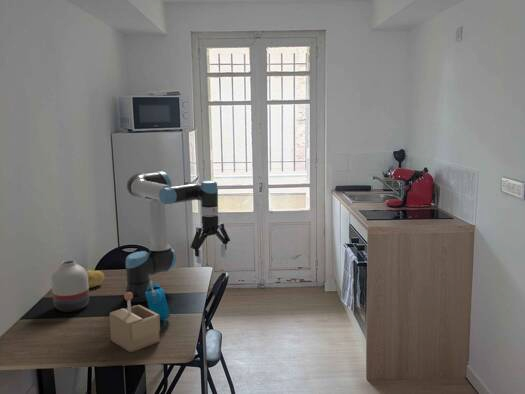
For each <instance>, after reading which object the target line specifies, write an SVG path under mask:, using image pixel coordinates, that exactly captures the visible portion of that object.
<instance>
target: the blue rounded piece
mask: <svg viewBox="0 0 525 394" xmlns="http://www.w3.org/2000/svg"><path fill="white" fill-rule="evenodd" d="M146 298H147V301H146V302H147V306H148V309H149V310H151V311H153V312H155V313H157V314H159V317H160V321H162V320H163V326H164V327H166V324H167V323H166V319H168V318H170V316H171V315H170V311H169V307H168V301H167V298H166V293H165V290H164V288H161V286H160V285H159V284H158V283H157V282H154V281H152V280H150V284H149V285H148V286H147V292H146Z"/></svg>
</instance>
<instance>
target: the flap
mask: <svg viewBox="0 0 525 394" xmlns="http://www.w3.org/2000/svg"><path fill="white" fill-rule="evenodd" d="M124 294H125V295H123V297H124V300H125V301H126V300H127V301H126V302H127V303H126V304H127V308H128V310H126V308H125V307H124V308H120V309H119V308H118V309H116V310H113V311H110V312H109V314H111V315H113V316H115V317H116V318H118V319H120V320H121V321H123V322H125V323H127V324H128V325H129V324H132V323H135V322H138V321H141V320H142V318H141V317H139V316H137V315H135V314H133V313H131V307H132V304H131V303H132V302H131V299H132V298H133V294H132V293H131V292H126V293H125V292H124Z"/></svg>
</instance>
